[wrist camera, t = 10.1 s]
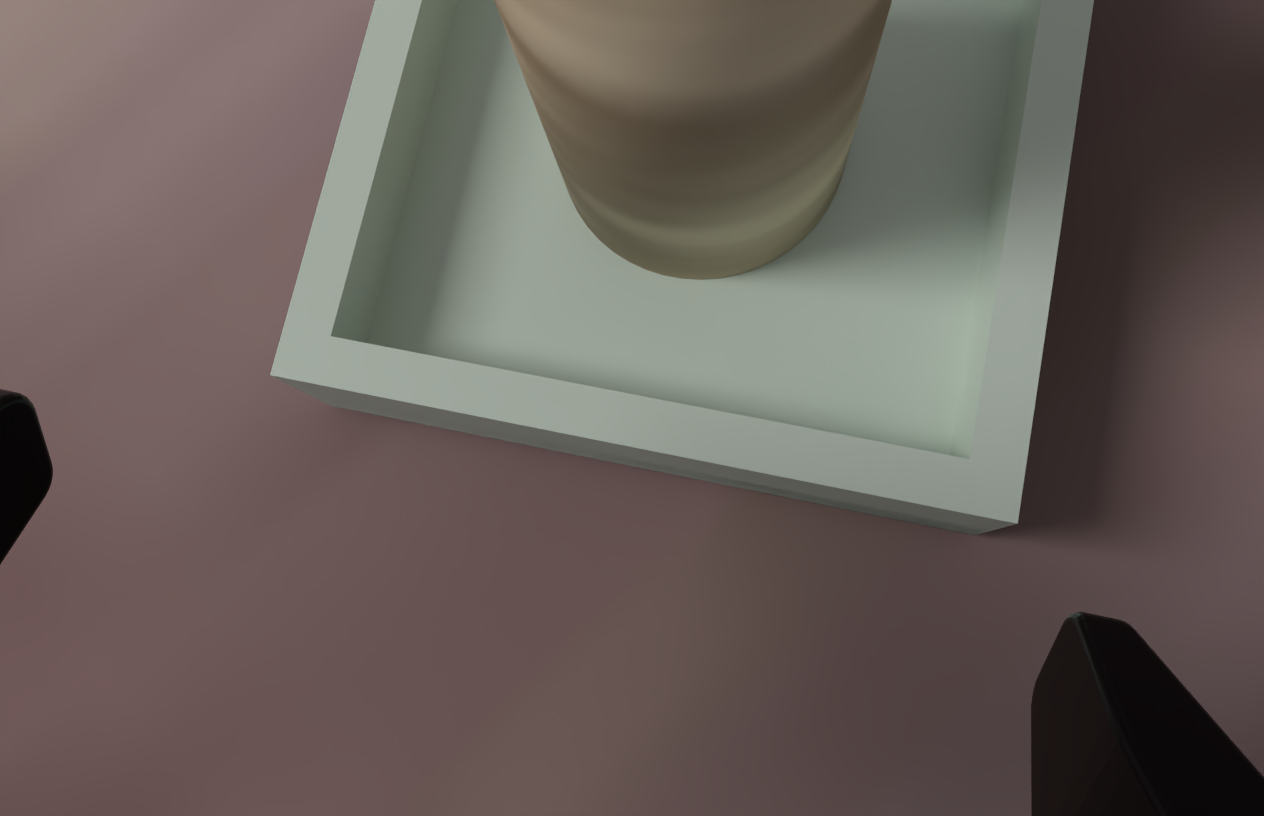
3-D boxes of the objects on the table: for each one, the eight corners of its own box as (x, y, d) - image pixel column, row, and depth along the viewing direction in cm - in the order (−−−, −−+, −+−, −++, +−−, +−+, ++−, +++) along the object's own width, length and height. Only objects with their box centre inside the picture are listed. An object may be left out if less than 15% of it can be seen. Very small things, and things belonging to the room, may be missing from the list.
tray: (975, 535, 17) (1017, 523, 15) (329, 405, 18) (270, 374, 16) (1067, -72, 19) (1118, -172, 17) (478, -148, 20) (445, -250, 18)
